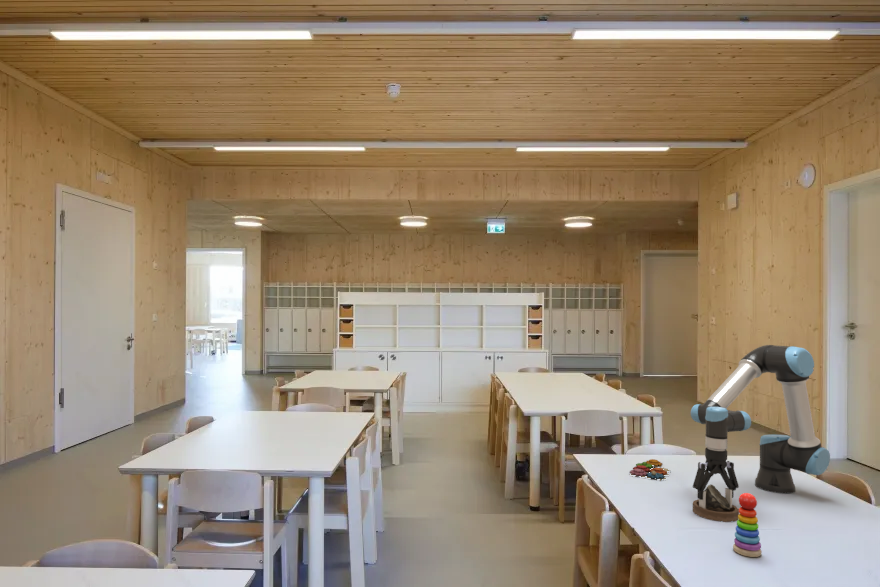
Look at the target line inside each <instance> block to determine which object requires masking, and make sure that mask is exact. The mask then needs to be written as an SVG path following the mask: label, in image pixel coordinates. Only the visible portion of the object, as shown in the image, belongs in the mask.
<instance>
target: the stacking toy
mask: <svg viewBox="0 0 880 587" xmlns="http://www.w3.org/2000/svg"><path fill="white" fill-rule="evenodd" d="M738 502H739V505H740V507H739V508H738V509H739V515H738V520H736V526H735V532H734V537H735V538H734V542H733V545H732V549H733V550H734V552H735V553H737V554H739V555H741V556H744V557H750V558H758V557H760V556H761V555H762V550H761V548H762V544H761V542H760V540H761V538H760V536H759V535H760V531H759V524H758V522H759V519H758V517H757V514H758V513H757V510H756V509H755V508H756V507H757V505H758V501H757V498H756V497H755V496H754V495H753V494H752V493H749V492H744V493H742V494H740V495H739V498H738Z"/></svg>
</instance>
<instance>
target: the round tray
mask: <svg viewBox="0 0 880 587" xmlns="http://www.w3.org/2000/svg"><path fill="white" fill-rule="evenodd" d="M692 512H693V513H694V515H696V514H697V515H696V516H698V515H699V516H698V517H700V518H704V519H707V520H710V521H716V522H721V521H723V523H730V522H731V521H733V522H737V521H738V520H739V519H738V515H739V514H740V513H739V508H738V506H736V505H734V504H732V508H730V510H728V511H724V510H723V509H721V508H716V509H714V508H711V509H704V508H702V507H700V506H699V499H698V498H697V499H695V500H693V501H692ZM731 523H732V522H731Z"/></svg>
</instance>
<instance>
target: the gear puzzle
mask: <svg viewBox="0 0 880 587" xmlns="http://www.w3.org/2000/svg"><path fill="white" fill-rule="evenodd" d="M652 465H655V466H652ZM658 465H659V466H658ZM656 466H657V467H662V466H663V462H661V461H659V460H658V459H653V458H651V459H648V460H646V461H643V462H638V463H636V464H635V466H634V467H632V469H631V470H630V471H629V474H631V475H636V476H635V477H637V476H641V477H645V476H647V478H656V479H660V480H662V479H666V478H667V477H666V476H664V475H669V476H670V474H669V473H667V471H670V469H669V470H668V468H665V467H663V468H657V467H656ZM653 467H656V468H653ZM651 468H653V469H651ZM650 469H651V470H650ZM663 469H664V470H663ZM649 472H650V473H649ZM656 479H655V480H656Z"/></svg>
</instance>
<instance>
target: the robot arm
mask: <svg viewBox="0 0 880 587" xmlns="http://www.w3.org/2000/svg"><path fill="white" fill-rule="evenodd" d="M814 369H815V360H814V359H813V355H812V354H811V353H810V352H809V351H808V350H807V349H806V348H804V347H798V346H794V345H792V346H790V345H789V346H787V345H773V344H764V345H761V346H758V347H756V348H754V349H752V350H751V351H749V352H748V353H746V355H744V356H743V357H742V358H741V359H740V360H739V361H738V366H737V367H736V369H734V371H732V373H731V374H729V376H728V377H727V378H726V379H725V380H724V381H723V382H722V383H721V384H720V386H718V388H717V389H716V390H715V391H714V392H713V393H712V394H711V395H710V396H709V397H708V398H707V400H706V401H705V402H704V403H703V404H701V403H699V404H698V403H696V404H694V405H693V406H692V407H691V409H690V417H691V419H692V420H693V421H694V422H695V423H699V424H701V425H705V436H704V437H705V440H704V442H705V449H704V457H705V461H704V462H700V461H699V462H698V463H697V471H696V473H695V477H694V481H693V484H692V488H693V489H695V490H697V500H698V499H699V506H700V507H702V508H704V509H706V492H705V489H706V488H707V486H708V485H709V484H708V483H709V482H710V480H711V478H712V477H713V476H714V475H719V474H720V476H721V478H722V481H724V484H725V485H726V487H725V488H724V489H725V490H724V491H725V496H724V497H725V498H726V499H727V501H728V503H729V504H730V508H732V505H733V498H734V491H736V490H737V489H738V488H739V487H740V486H739V482H738V479H737V476H736V473H735V469H734V468H735V463H734V462H731V461H729V460H728V433H731V432H743V431H747V430H749V429H750V427H751V426H752V419H751V416H750V415H749V413H748V412H746V411H744V410H730V409H728V408H729V407H730V406H731V404H733V402H735V400H737V398H738V397H739V396H740V395H741V394H742V392H744V390H745V389H746V388H747V387H748V386H749V385H750V384H751V383H752V382H753V381H754V379H756V378H757V379H758V378H760V377H761V376H762V374H765V373H770V374H775V380H776V381H777V382H778V383H780V384H781V389H782V395H783V400H784V405H785V406H784V407H785V412H786V416H787V422H788V427H789V433H790V435H786V434H763V435H761V436H760V440H759V469H758V471H757V476H756V478H755V479H754V485H755V487H757V488H758V489H761V490H763V491H767V492H771V493H772V492H773V493H777V494H794V493H796V486H795V485H796V484H794V479H793V477H792V472H791V470H794V471H798V472H803V473H806V474H807V475H814V476H820V475H822V474H823V473H825V472H826V471H827V469H828V467H829V466H830V462H831V453H830V451H829V450H828V449H827V448H825V447H822V443H821V439H819V438H818V437H817V436H816V435H815V434H816V433H815V428H814V427H815V426H814V423H813V416H812V411H811V406H810V400H809V399H810V398H809V394H808V388H807V382H808V380H810V376H811V375H812V374H813V372H814ZM793 492H794V493H793Z"/></svg>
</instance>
